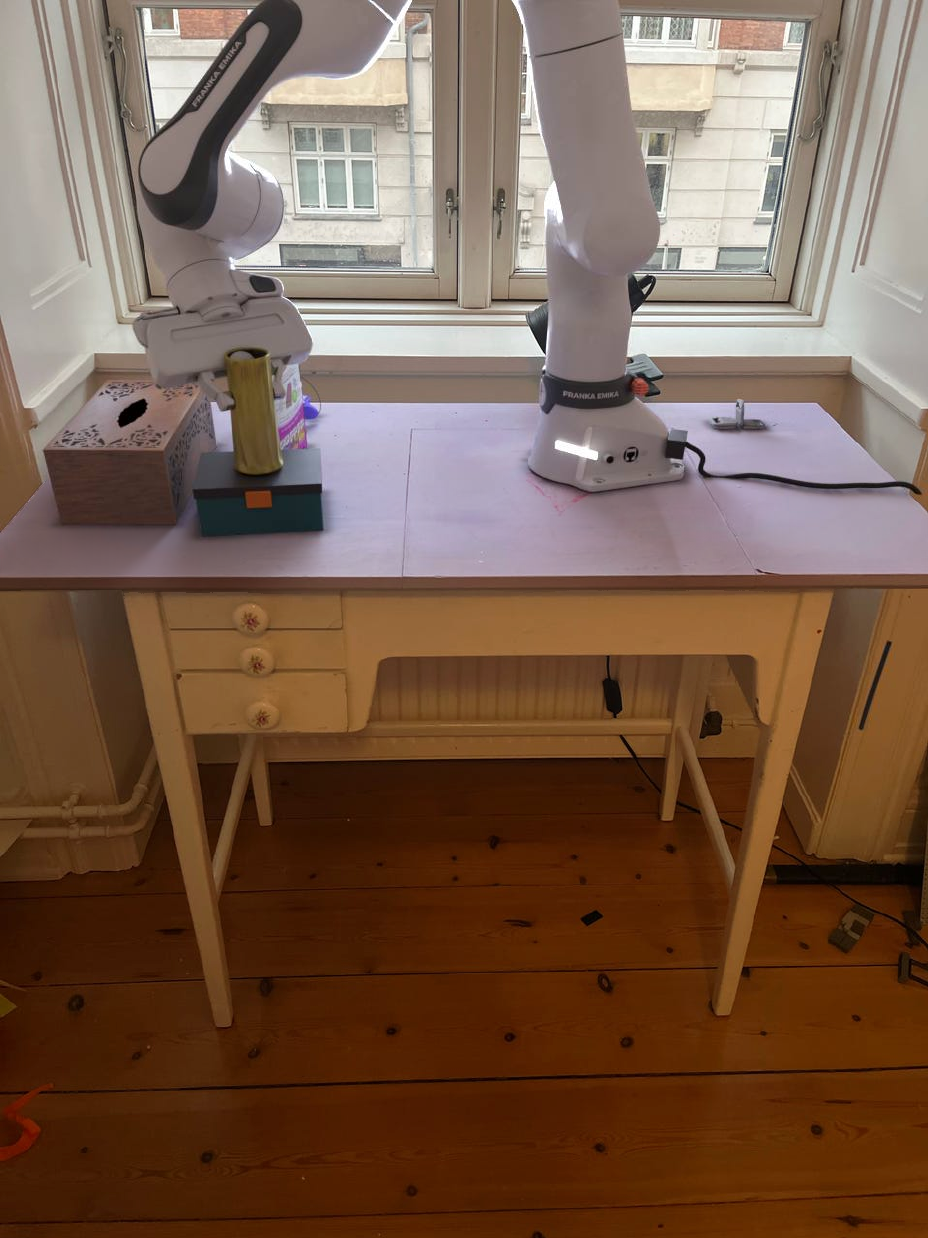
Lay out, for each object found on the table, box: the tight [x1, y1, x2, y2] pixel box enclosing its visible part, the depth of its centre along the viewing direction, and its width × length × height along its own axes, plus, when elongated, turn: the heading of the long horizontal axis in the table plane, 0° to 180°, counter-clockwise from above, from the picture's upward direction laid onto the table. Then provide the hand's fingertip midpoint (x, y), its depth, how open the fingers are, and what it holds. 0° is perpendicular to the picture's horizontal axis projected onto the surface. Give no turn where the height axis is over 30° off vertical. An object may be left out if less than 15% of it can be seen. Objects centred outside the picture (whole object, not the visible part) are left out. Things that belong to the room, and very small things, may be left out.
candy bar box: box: [272, 363, 308, 450], centre depth 131 cm, size 11×5×16 cm, turn 168°
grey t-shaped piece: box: [709, 398, 766, 430], centre depth 149 cm, size 8×3×4 cm, turn 94°
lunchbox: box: [192, 447, 324, 537], centre depth 119 cm, size 15×12×6 cm
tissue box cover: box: [42, 379, 218, 525], centre depth 125 cm, size 26×14×10 cm, turn 1°
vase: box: [224, 347, 283, 475], centre depth 113 cm, size 6×6×14 cm
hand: (254, 403), depth 112 cm, fingers closed on vase, 5 cm apart
